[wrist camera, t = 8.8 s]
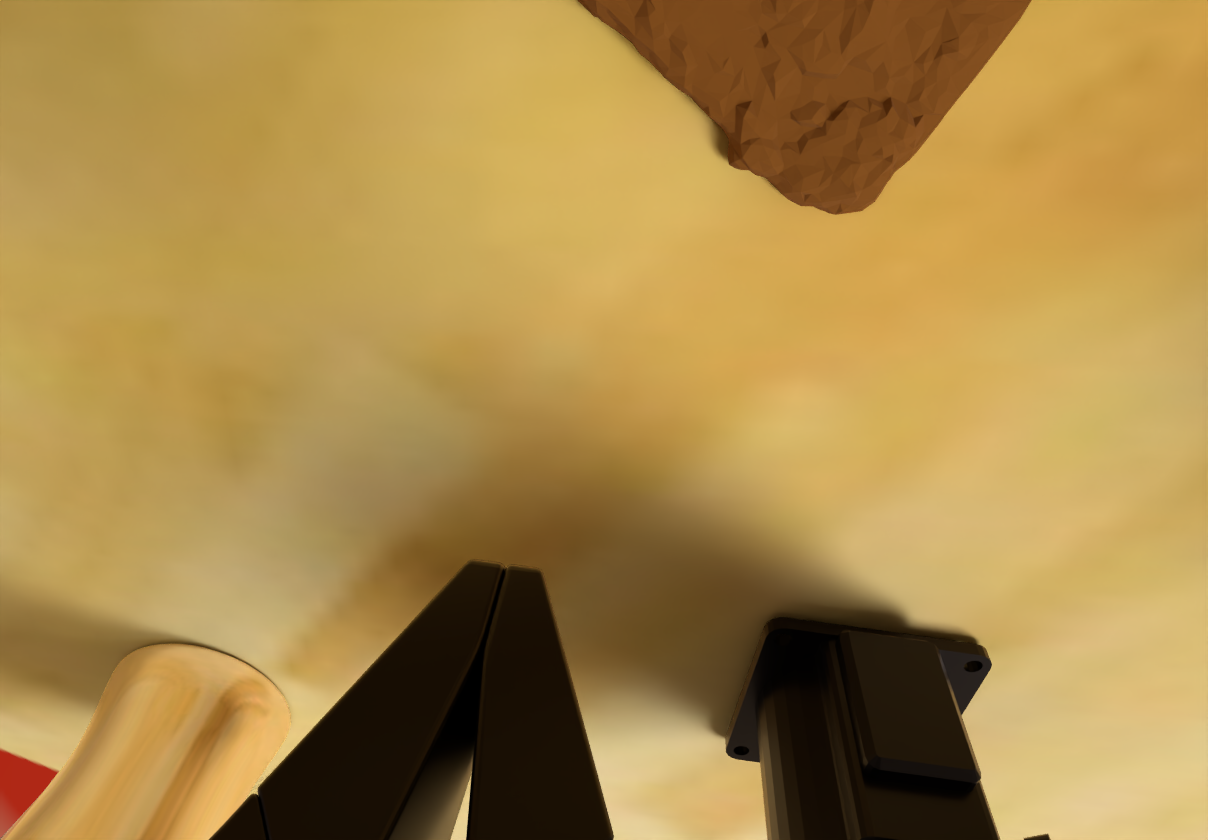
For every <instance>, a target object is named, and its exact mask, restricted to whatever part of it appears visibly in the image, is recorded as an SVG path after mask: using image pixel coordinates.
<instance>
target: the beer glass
mask: <svg viewBox="0 0 1208 840" xmlns="http://www.w3.org/2000/svg"><path fill="white" fill-rule="evenodd" d="M290 725H291V714H290V710H289V707H288V704H287V702H286V700H285V698H284V697H283V695H282V694H281V692H280V691H279V690H278V688H277V687H276V686H275V685H274V684H273V683H272V682H271V681H270V680H269V679H268V678H266V677H265V676H264V675H263V674H261V673H260V672H259V671H257V670H256V669H254V668H253V667H251V666H249V665H248V664H246V663H244V662H242V661H240V660H238V659H236V658H234V657H232V656H229V655H227V654H224V653H221V652H218V651H215V650H212V649H208V648H204V647H200V646H195V645H188V644H176V643H168V644H156V645H151V646H146V647H143V648H140V649H137V650H135V651H133V652H131V653H130V654H128V655H127V656H126V657H125V658H123V659H122V660H121V662H120V663H119V664H118V665H117V666H116V668H115V670H114V672H113V673H112V675H111V677H110V679H109V681H108V683H107V685H106V687H105V690H104V692H103V694H102V696H101V699H100V701H99V703H98V705H97V708H96V710H95V712H94V714H93V716H92V719H91V721H90V723H89V725H88V727H87V729H86V731H85V733H84V734H83V736H82V738H81V740H80V742H79V744H78V745H77V747H76V748H75V750H74V751H73V753H72V754H71V756H70V757H69V759H68V760H67V762H66V764H65V765H64V766H63V767H62V769H61V770H60V771H59V773H58V774H57V775H56V777H55V778H54V779H53V780H52V782H51V783H50V784H49V785H48V787H47V788H46V789H45V791H44V792H43V793H42V794H41V795H40V796H39V797H38V798H37V799H36V801H35V802H34V803H33V804H32V805H31V806H30V807H29V808H28V809H27V810H26V811H25V813H24V814H23V815H22V816H21V817H20V818H19V819H18V820H17V821H16V823H15V824H14V825H13V826H12V827H11V828H10V829H9V830H8V831H7V832H6V833H5V834H4V835H3V836H2V837H1V838H0V840H209V839H210V838H211V837H212V835H213V834H214V833H215V832H216V831H217V830H218V829H219V828H220V827H221V826H222V825H223V824H224V823H225V822H226V821H227V820H228V819H229V818H230V817H231V815H232V814H233V813H234V812H235V811H236V810H237V809H238V808H239V807H240V806H241V805H242V804H243V802H244V801H245V799H246V798H247V796H248V794H249V793H250V791H251V790H252V788H253V786H254V785H255V783H256V782H257V780H258V779H259V778H260V776H261V775H262V773H263V772H264V770H265V769H266V767H267V766H268V765H269V763H270V762H271V760H272V759H273V757H274V756H275V755H276V753H277V752H278V750H279V749H280V747H281V746H282V744H283V743H284V741H285V739H286V737H287V735H288V733H289V730H290Z"/></svg>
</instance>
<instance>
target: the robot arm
mask: <svg viewBox="0 0 1208 840" xmlns="http://www.w3.org/2000/svg"><path fill="white" fill-rule="evenodd" d="M780 634H785V635H780ZM991 666H992V663H991V661H990V658H989V656H988V653H987V651H986V649H985V648H984V647H983V646H981V645H977V644H972V643H965V642H958V641H951V640H944V639H936V638H929V637H922V636H915V635H908V634H901V633H893V632H886V631H879V630H872V629H865V628H858V627H850V626H843V625H836V624H829V623H822V622H815V621H807V620H800V619H793V618H786V617H779V618H775V619H772V620H770V621H769V622H767V624H766V625H765V627H764V630H763V632H762V635H761V638H760V641H759V644H758V647H757V649H756V652H755V655H754V658H753V661H752V664H751V667H750V669H749V672H748V675H747V678H746V681H745V684H744V686H743V689H742V692H741V695H740V698H739V701H738V703H737V706H736V709H735V712H734V715H733V718H732V721H731V723H730V726H729V729H728V732H727V735H726V739H725V742H726V753H727V754H728V756H730V757H732V758H735V759H739V760H746V761H753V762H760V766H761V776H762V787H763V797H764V807H765V818H766V828H767V839H768V840H1000V837H999V834H998V831H997V828H996V825H995V822H994V819H993V816H992V813H991V810H990V808H989V805H988V802H987V799H986V796H985V793H984V790H983V787H982V784H981V781H980V779H981V772H980V769H979V766H978V763H977V760H976V757H975V754H974V751H973V749H972V746H971V743H970V740H969V737H968V734H967V731H966V728H965V725H964V722H963V719H962V716H961V715H962V714H963V712H964V710H965V709H966V707H967V706H968V704H969V703H970V701H971V699H972V698H973V696H974V695H975V693H976V691H977V690H978V688H979V687H980V685H981V683H982V682H983V680H984V679H985V677H986V675H987V674H988V672H989V671H990V669H991ZM471 772H472V777H471V789H470V801H469V813H468V825H467V837H466V840H613V838H614V835H613V831H612V827H611V823H610V819H609V816H608V812H607V808H606V805H605V801H604V797H603V793H602V790H601V786H600V782H599V778H598V775H597V771H596V767H595V764H594V760H593V756H592V752H591V749H590V745H589V741H588V738H587V734H586V730H585V726H584V723H583V719H582V715H581V711H580V708H579V704H578V700H577V697H576V693H575V689H574V685H573V682H572V678H571V674H570V670H569V667H568V663H567V659H566V656H565V652H564V648H563V644H562V641H561V637H560V633H559V629H558V626H557V622H556V618H555V615H554V611H553V607H552V603H551V600H550V596H549V592H548V588H547V585H546V581H545V577H544V574H543V572H542V571H541V569H539V568H535V567H528V566H520V565H509V566H508V567H507V568H506V569H505V566H504V565H503V564H502V563H499V562H491V561H484V560H477V559H473V560H470V561H468V562H467V563H466V564H465V565H464V566H463V567H462V568H461V569H460V570H459V571H458V572H457V573H456V575H455V576H454V577H453V578H452V579H451V580H450V581H449V582H448V583H447V584H446V585H445V586H444V587H443V589H442V590H441V591H440V592H439V593H438V594H437V595H436V596H435V597H434V598H433V599H432V600H431V601H430V603H429V604H428V605H427V606H426V607H425V608H424V609H423V610H422V611H421V612H420V613H419V614H418V615H417V617H416V618H415V619H414V620H413V621H412V622H411V623H410V624H409V625H408V626H407V627H406V628H405V629H404V631H403V632H402V633H401V634H400V635H399V636H398V637H397V638H396V639H395V640H394V641H393V642H392V643H391V645H390V646H389V647H388V648H387V649H386V650H385V651H384V652H383V653H382V654H381V655H380V656H379V657H378V659H377V660H376V661H375V662H374V663H373V664H372V665H371V666H370V667H369V668H368V669H367V670H366V671H365V673H364V674H363V675H362V676H361V677H360V678H359V679H358V680H357V681H356V682H355V683H354V684H353V685H352V687H351V688H350V689H349V690H348V691H347V692H346V693H345V694H344V695H343V696H342V697H341V698H340V699H339V701H338V702H337V703H336V704H335V705H334V706H333V707H332V708H331V709H330V710H329V711H328V712H327V714H326V715H325V716H324V717H323V718H322V719H321V720H320V721H319V722H318V723H317V724H316V725H315V726H314V728H313V729H312V730H311V731H310V732H309V733H308V734H307V735H306V736H305V737H304V738H303V739H302V740H301V742H300V743H299V744H298V745H297V746H296V747H295V748H294V749H293V750H292V751H291V752H290V753H289V754H288V756H287V757H286V758H285V759H284V760H283V761H282V762H281V763H280V764H279V765H278V766H277V767H276V768H275V770H274V771H273V772H272V773H271V774H270V775H269V776H268V777H267V778H266V779H265V780H264V781H263V782H262V784H261V785H260V786H259V787H258V795H257V794H251V795H250V796H249V797H248V798H247V799H246V800H245V801H244V802H243V804H242V805H241V806H240V807H239V808H238V809H237V810H236V811H235V812H234V813H233V814H232V815H231V817H230V818H229V819H228V820H227V821H226V822H225V823H224V824H223V825H222V826H221V827H220V828H219V829H218V830H217V831H216V832H215V833H214V834H213V835H212V837H211V838H210V839H209V840H450V839H451V836H452V832H453V829H454V826H455V823H456V820H457V817H458V813H459V810H460V807H461V804H462V801H463V798H464V795H465V791H466V788H467V785H468V782H469V779H470V775H471ZM258 796H259V797H258ZM1024 840H1051V839H1050V837H1049V835H1048V834H1044V835H1038V836H1033V837H1027V838H1024Z"/></svg>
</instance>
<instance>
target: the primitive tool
mask: <svg viewBox="0 0 1208 840" xmlns="http://www.w3.org/2000/svg"><path fill="white" fill-rule="evenodd" d="M578 1H579V2H580V3H581V4H582V5H583V6H584V7H585V8H586V9H587V10H588V11H589V12H590V13H591V14H592V15H593V16H595V17H598V18H599V19H600V20H601V21H603V22H604V23H606V24H607V25H609V26H610V27H612V28H613V29H615V30H616V31H618V32H619V33H620V34H622V35H623V36H624V37H626V38H627V39H628V40H630V41H631V42H632V43H633V45H634V46H635V47H636V49H637V50H638V52H639V53H640V54H641V55H642V56H644V57H645V58H646V59H647V60H649V61H650V62H651V63H652V65H653V66H654V67H655V68H656V69H657V70H658V71H659V72H660V73H661V74H662V75H663V76H664V77H665V78H666V79H667V80H668V81H670V82H671V83H672V84H673V85H674V86H675V87H676V88H678V89H679V90H681V91H682V92H684V93H685V94H687V95H688V96H690V97H691V98H692V99H693V100H694V101H695V102H696V103H697V104H698V105H699V107H700V108H701V109H702V110H703V111H704V112H705V113H706V114H707V115H708V116H709V117H710V118H711V119H713V120H714V121H715V122H716V123H717V124H718V125H720V126H721V128H722V129H723V130H724V132H725V134H726V135H727V137H728V138H729V146H728V161H729V165H731V166H733V167H734V168H737V169H740V170H750V171H751V172H752V173H754V174H755V175H758V176H762V177H765V178H766V179H768V180H769V181H770V182H771V183H772V184H773V185H774V186H775V187H776V188H777V189H778V190H779V191H780V192H781V193H782V194H783V195H784V196H785V197H786V198H787V199H788V200H790V201H792V202H794V203H796V204H798V205H800V206H814V207H816V208H818V209H820V210H823V211H826V212H828V213H831V214H835V215H836V214H843V213H851V212H857V211H862V210H864V209H865V208H866V207H868V206H869V205H871V204H872V203H873V202H875V200H876V199H877V198H878V196H879V195H880V193H881V192H882V190H883V189H884V187H885V185H886V184H887V182H888V181H889V180H890V178H891V177H892V175H893V174H894V172H895V171H897V170H898V169H899V168H900V167H902V166H903V165H904V164H905V163H906V162H907V161H909V160H910V159H911V158H912V156H913V155H914V154H915V153H916V152H917V151H918V150H919V148H920V147H921V146H922V145H923V143H924V142H925V141H926V140H927V138H928V137H929V136H930V134H931V133H932V132H933V131H934V129H935V128H936V127H937V126H938V124H939V123H940V121H941V120H942V119H943V117H944V116H945V115H946V113H947V112H948V111H949V110H950V108H951V107H952V106H953V104H954V103H955V102H956V101H957V99H958V98H959V97H960V96H961V95H962V93H963V92H964V91H965V90H966V88H967V87H968V86H969V85H970V83H971V82H972V81H973V80H974V78H975V77H976V76H977V74H978V73H979V72H980V71H981V69H982V68H983V67H984V65H985V64H986V63H987V62H988V60H989V59H990V58H991V56H992V55H993V54H994V53H995V51H996V50H997V49H998V47H999V46H1000V45H1001V43H1002V42H1003V41H1004V39H1005V38H1006V37H1007V35H1008V34H1009V33H1010V31H1011V30H1012V29H1013V27H1014V26H1015V25H1016V23H1017V22H1018V21H1019V19H1020V18H1021V16H1022V15H1023V13H1024V11H1025V10H1026V8H1027V7H1028V5H1029V3H1030V2H1031V0H578Z"/></svg>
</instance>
